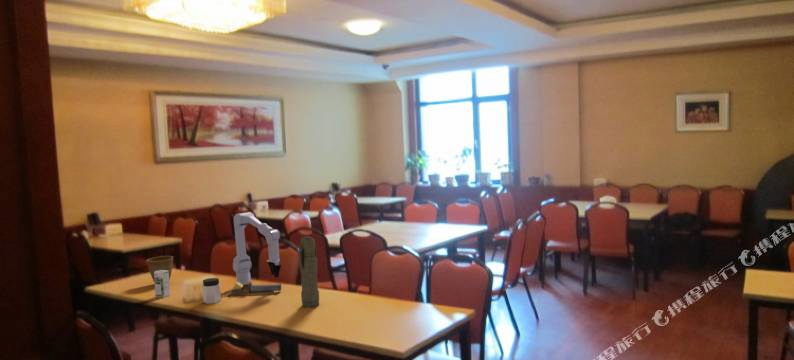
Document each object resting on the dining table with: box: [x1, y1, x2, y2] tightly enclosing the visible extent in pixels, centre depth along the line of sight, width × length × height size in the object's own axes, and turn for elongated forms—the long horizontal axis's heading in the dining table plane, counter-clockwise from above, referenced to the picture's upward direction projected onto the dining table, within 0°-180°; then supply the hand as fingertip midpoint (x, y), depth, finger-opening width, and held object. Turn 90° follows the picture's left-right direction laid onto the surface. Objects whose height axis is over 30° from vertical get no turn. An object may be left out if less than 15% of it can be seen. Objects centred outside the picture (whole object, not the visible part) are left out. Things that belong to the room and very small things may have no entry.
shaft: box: [249, 283, 282, 292], centre depth 326 cm, size 3×19×3 cm, turn 89°
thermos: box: [297, 236, 320, 308], centre depth 296 cm, size 9×12×35 cm
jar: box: [202, 277, 222, 305], centre depth 311 cm, size 9×8×12 cm
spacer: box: [231, 281, 243, 290], centre depth 326 cm, size 4×4×4 cm
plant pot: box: [146, 255, 174, 284], centre depth 356 cm, size 15×15×16 cm
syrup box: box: [153, 270, 171, 299], centre depth 327 cm, size 6×6×14 cm
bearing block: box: [226, 281, 275, 297], centre depth 326 cm, size 10×24×6 cm, turn 89°
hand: (275, 275), depth 326 cm, fingers open, 7 cm apart
